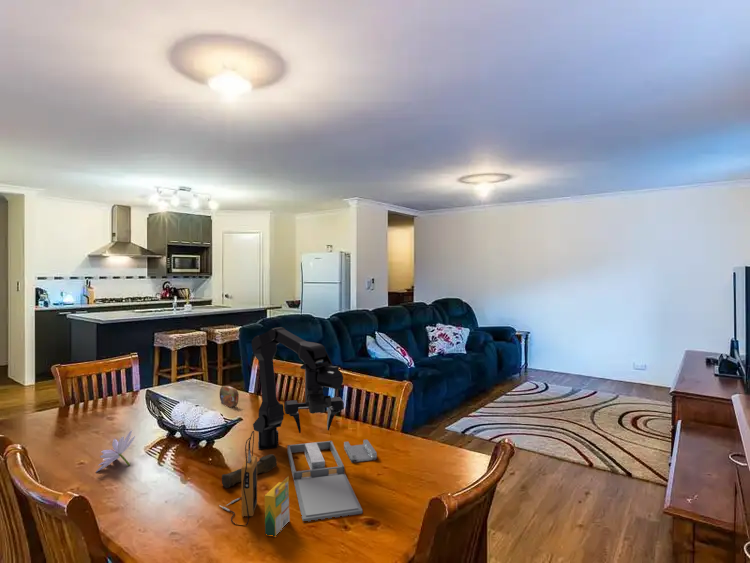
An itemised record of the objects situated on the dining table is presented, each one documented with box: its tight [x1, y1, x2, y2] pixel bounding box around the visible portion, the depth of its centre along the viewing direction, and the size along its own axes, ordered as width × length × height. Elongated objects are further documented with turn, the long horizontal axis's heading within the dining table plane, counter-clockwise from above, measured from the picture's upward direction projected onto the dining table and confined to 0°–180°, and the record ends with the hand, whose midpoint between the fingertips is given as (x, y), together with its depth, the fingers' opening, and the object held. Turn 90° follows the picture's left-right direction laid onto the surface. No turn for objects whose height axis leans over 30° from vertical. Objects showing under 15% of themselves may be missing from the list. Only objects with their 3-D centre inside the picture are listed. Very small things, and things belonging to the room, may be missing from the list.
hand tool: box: [221, 453, 278, 489], centre depth 140 cm, size 19×4×5 cm, turn 139°
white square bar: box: [304, 441, 326, 470], centre depth 150 cm, size 4×16×4 cm, turn 17°
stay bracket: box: [343, 439, 378, 463], centre depth 157 cm, size 8×12×2 cm
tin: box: [219, 385, 239, 408], centre depth 213 cm, size 15×3×8 cm, turn 43°
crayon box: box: [264, 475, 290, 537], centre depth 112 cm, size 7×3×12 cm, turn 163°
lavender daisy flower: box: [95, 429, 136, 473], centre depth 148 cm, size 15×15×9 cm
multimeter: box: [218, 430, 258, 526], centre depth 120 cm, size 15×10×20 cm
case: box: [286, 440, 363, 522], centre depth 139 cm, size 15×45×2 cm, turn 16°
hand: (314, 431), depth 149 cm, fingers open, 9 cm apart
